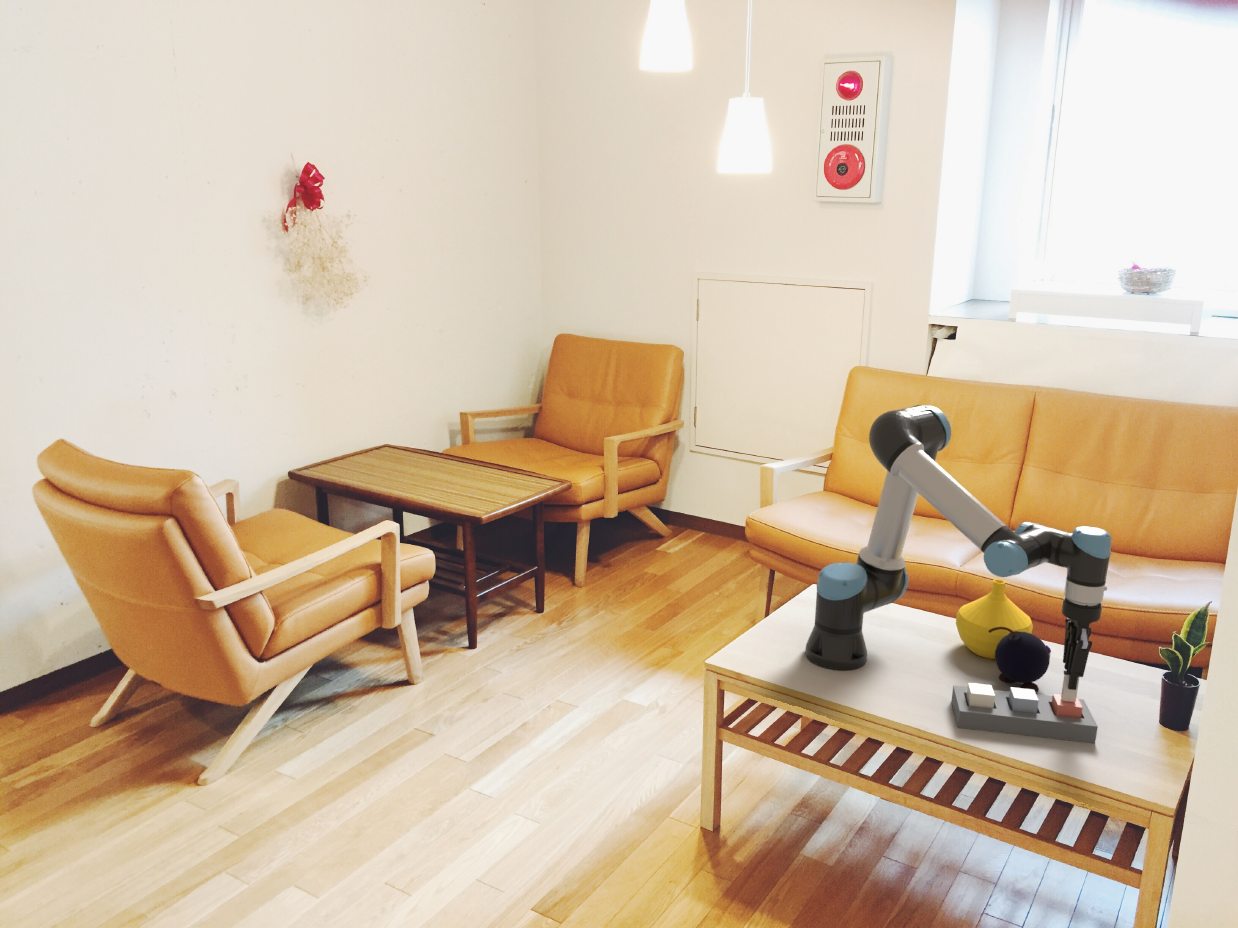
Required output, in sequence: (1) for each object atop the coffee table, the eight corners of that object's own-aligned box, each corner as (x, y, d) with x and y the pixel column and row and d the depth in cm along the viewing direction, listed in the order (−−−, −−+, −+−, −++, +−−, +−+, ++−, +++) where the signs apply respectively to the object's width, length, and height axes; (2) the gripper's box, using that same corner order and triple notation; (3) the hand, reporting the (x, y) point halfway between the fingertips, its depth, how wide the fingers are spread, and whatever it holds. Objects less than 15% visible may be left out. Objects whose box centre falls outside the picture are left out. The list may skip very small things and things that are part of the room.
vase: (1035, 646, 254) (1044, 577, 249) (1020, 673, 239) (1030, 601, 234) (962, 629, 264) (970, 563, 259) (944, 654, 249) (952, 584, 244)
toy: (1056, 693, 230) (1065, 634, 226) (1007, 700, 226) (1015, 640, 222) (1022, 669, 241) (1030, 613, 237) (975, 676, 238) (982, 619, 234)
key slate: (1012, 713, 215) (1014, 697, 214) (1008, 702, 219) (1010, 686, 218) (1036, 716, 214) (1038, 700, 213) (1031, 705, 218) (1034, 689, 217)
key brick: (1055, 720, 213) (1057, 704, 212) (1050, 709, 218) (1052, 693, 217) (1080, 723, 212) (1082, 707, 211) (1074, 712, 217) (1077, 696, 216)
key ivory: (969, 708, 216) (971, 692, 215) (966, 698, 221) (968, 682, 220) (992, 711, 215) (995, 695, 214) (989, 700, 220) (991, 684, 219)
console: (957, 727, 214) (959, 710, 213) (951, 700, 226) (953, 685, 225) (1095, 743, 209) (1097, 726, 208) (1081, 715, 220) (1083, 699, 219)
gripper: (1110, 613, 201) (1094, 716, 207) (1094, 589, 213) (1079, 687, 219) (1071, 609, 202) (1056, 712, 208) (1057, 586, 215) (1043, 684, 221)
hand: (1068, 699), depth 214 cm, fingers closed
